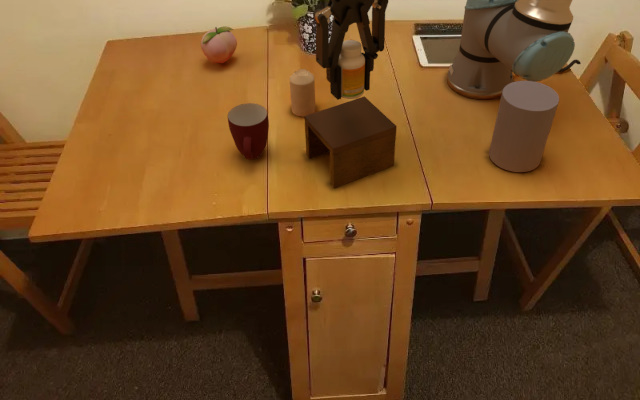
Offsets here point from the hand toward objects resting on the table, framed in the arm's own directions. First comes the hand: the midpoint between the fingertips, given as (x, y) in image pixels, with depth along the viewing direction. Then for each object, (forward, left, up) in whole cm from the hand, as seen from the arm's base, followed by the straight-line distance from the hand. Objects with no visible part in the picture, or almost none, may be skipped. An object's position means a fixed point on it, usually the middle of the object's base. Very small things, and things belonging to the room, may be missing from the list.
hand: (350, 91), depth 109 cm
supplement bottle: (0, 0, -1) cm, 1 cm away
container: (-30, +16, -17) cm, 38 cm away
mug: (+17, -11, -17) cm, 26 cm away
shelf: (0, 0, -17) cm, 17 cm away
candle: (0, -21, -17) cm, 27 cm away
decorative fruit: (+9, -51, -17) cm, 54 cm away
